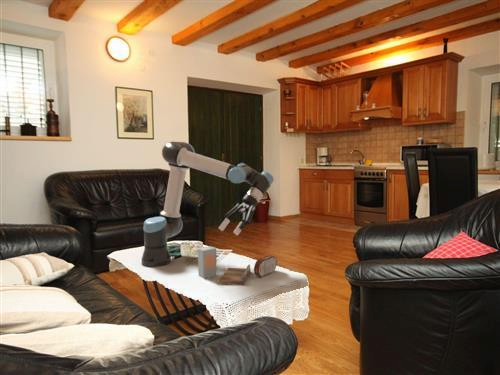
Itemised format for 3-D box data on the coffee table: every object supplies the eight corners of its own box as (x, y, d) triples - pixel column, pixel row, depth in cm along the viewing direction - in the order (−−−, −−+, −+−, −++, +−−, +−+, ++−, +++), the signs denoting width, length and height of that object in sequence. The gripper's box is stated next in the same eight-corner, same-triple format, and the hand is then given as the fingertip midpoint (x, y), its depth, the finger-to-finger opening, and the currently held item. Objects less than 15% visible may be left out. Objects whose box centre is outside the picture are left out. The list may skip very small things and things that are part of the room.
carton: (198, 275, 166) (197, 248, 165) (211, 272, 170) (211, 246, 169) (203, 278, 162) (203, 250, 161) (217, 275, 166) (216, 248, 165)
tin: (272, 269, 174) (272, 252, 173) (277, 271, 172) (277, 254, 171) (253, 278, 162) (253, 260, 161) (258, 279, 160) (258, 261, 159)
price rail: (248, 268, 171) (248, 264, 171) (250, 268, 171) (250, 264, 170) (241, 281, 153) (241, 277, 153) (243, 281, 153) (243, 277, 153)
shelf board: (228, 270, 173) (228, 267, 173) (250, 271, 171) (250, 268, 171) (218, 283, 155) (218, 280, 155) (243, 285, 153) (243, 281, 153)
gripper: (271, 205, 169) (246, 240, 162) (243, 200, 189) (219, 232, 182) (262, 195, 166) (236, 231, 158) (234, 191, 186) (210, 223, 179)
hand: (227, 231), depth 170 cm, fingers open, 13 cm apart
